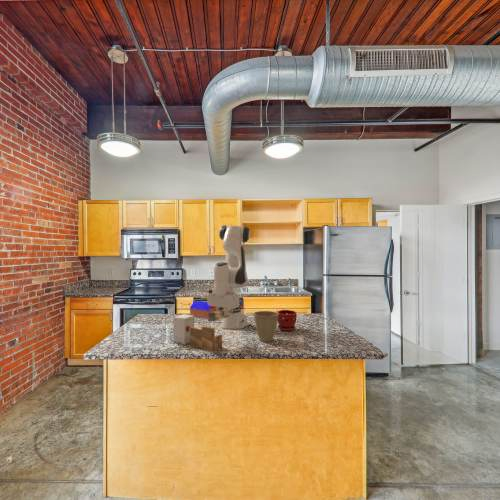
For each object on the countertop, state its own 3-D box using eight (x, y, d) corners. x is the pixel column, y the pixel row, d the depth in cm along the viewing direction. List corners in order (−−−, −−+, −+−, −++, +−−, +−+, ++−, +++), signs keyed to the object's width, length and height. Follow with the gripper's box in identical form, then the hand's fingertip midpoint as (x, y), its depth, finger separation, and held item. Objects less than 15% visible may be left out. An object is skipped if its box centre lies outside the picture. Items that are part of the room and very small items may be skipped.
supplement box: (184, 344, 167) (184, 318, 167) (172, 342, 172) (172, 316, 172) (194, 340, 175) (194, 315, 175) (183, 338, 180) (183, 313, 180)
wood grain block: (200, 341, 173) (200, 321, 173) (222, 347, 162) (222, 325, 162) (189, 345, 166) (189, 324, 166) (211, 351, 155) (211, 328, 156)
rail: (228, 314, 175) (228, 307, 175) (233, 315, 173) (233, 307, 173) (208, 320, 161) (208, 312, 161) (213, 321, 159) (212, 312, 159)
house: (208, 318, 232) (208, 304, 232) (189, 316, 241) (189, 302, 241) (217, 315, 242) (217, 301, 242) (198, 313, 252) (198, 299, 252)
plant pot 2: (274, 330, 196) (274, 312, 196) (281, 326, 207) (281, 309, 207) (292, 332, 190) (292, 314, 190) (299, 328, 201) (299, 310, 201)
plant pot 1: (271, 345, 165) (271, 317, 165) (249, 341, 173) (249, 314, 173) (282, 338, 178) (282, 312, 178) (261, 335, 185) (261, 309, 185)
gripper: (239, 291, 164) (239, 316, 164) (213, 288, 176) (213, 311, 176) (231, 293, 159) (232, 318, 159) (205, 290, 171) (205, 313, 171)
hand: (221, 314), depth 168 cm, fingers closed on rail, 3 cm apart
